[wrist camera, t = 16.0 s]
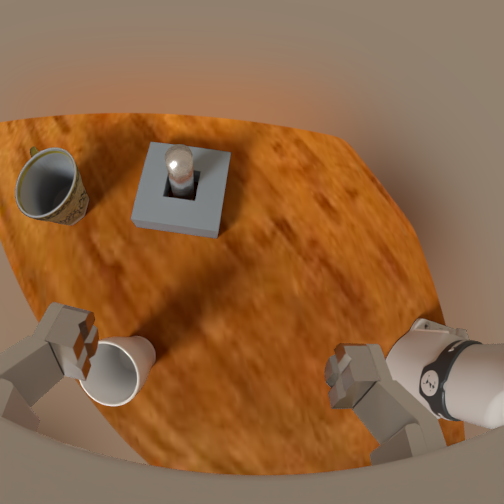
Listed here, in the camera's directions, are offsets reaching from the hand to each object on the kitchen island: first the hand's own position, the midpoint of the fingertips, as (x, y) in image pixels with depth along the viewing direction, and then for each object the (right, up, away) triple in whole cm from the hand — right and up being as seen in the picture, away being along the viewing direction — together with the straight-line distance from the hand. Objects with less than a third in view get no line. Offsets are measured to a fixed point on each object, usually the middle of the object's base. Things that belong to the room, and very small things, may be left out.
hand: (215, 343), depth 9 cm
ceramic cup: (-28, +11, +32) cm, 44 cm away
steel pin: (-9, +12, +35) cm, 38 cm away
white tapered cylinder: (-15, -11, +30) cm, 35 cm away
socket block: (-9, +12, +35) cm, 38 cm away
